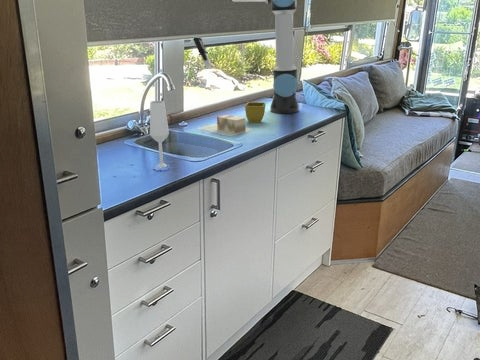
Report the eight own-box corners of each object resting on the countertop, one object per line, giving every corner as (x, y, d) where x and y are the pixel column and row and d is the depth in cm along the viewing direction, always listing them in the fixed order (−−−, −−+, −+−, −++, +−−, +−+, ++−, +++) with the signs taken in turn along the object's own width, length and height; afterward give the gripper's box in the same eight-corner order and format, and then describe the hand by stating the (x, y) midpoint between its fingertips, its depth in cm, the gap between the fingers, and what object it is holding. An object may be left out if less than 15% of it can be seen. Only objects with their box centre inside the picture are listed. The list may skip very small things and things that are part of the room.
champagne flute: (148, 168, 180) (143, 102, 172) (162, 164, 185) (158, 99, 177) (161, 172, 176) (156, 104, 168) (175, 167, 181) (171, 101, 173)
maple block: (217, 116, 228) (236, 120, 220) (226, 114, 232) (245, 118, 225) (217, 129, 230) (236, 133, 223) (226, 126, 234) (245, 131, 227)
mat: (196, 129, 233) (196, 128, 233) (220, 123, 244) (220, 122, 244) (230, 137, 219) (230, 136, 218) (254, 130, 230) (254, 129, 229)
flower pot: (262, 124, 240) (262, 106, 237) (244, 124, 242) (244, 105, 239) (265, 120, 248) (265, 102, 245) (248, 120, 250) (248, 102, 247)
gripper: (186, 28, 248) (204, 72, 248) (179, 21, 236) (198, 67, 235) (200, 21, 247) (218, 66, 247) (194, 14, 234) (213, 61, 234)
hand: (208, 66), depth 241 cm, fingers closed
